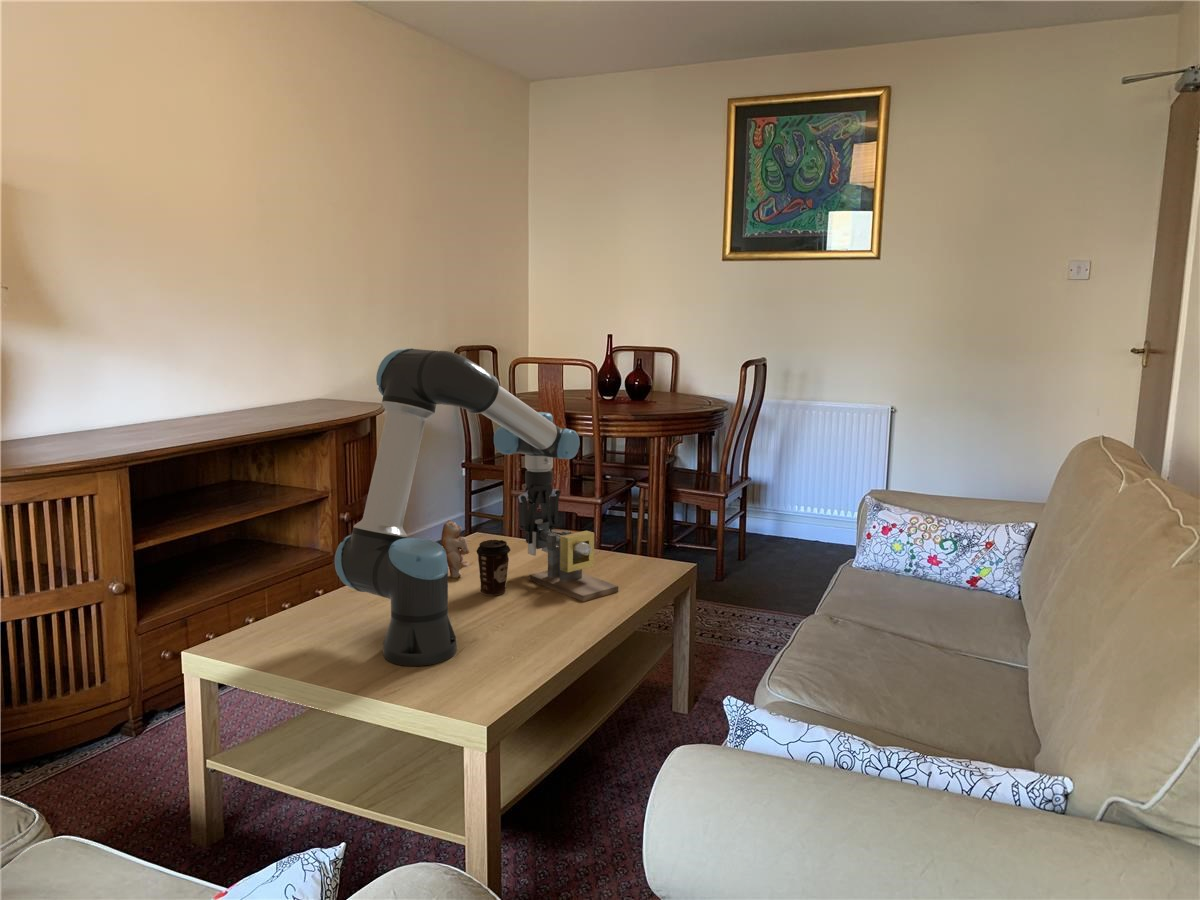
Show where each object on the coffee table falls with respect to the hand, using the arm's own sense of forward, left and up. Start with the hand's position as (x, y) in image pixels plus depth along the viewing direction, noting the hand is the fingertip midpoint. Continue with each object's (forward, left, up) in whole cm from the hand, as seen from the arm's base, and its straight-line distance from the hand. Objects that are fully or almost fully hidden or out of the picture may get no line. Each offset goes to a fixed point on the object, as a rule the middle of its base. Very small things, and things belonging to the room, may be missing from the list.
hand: (538, 552), depth 232 cm
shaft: (0, -9, +2) cm, 9 cm away
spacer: (0, -16, 0) cm, 16 cm away
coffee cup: (-19, -6, -6) cm, 21 cm away
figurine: (-19, +12, -6) cm, 23 cm away
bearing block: (0, -15, -6) cm, 16 cm away
